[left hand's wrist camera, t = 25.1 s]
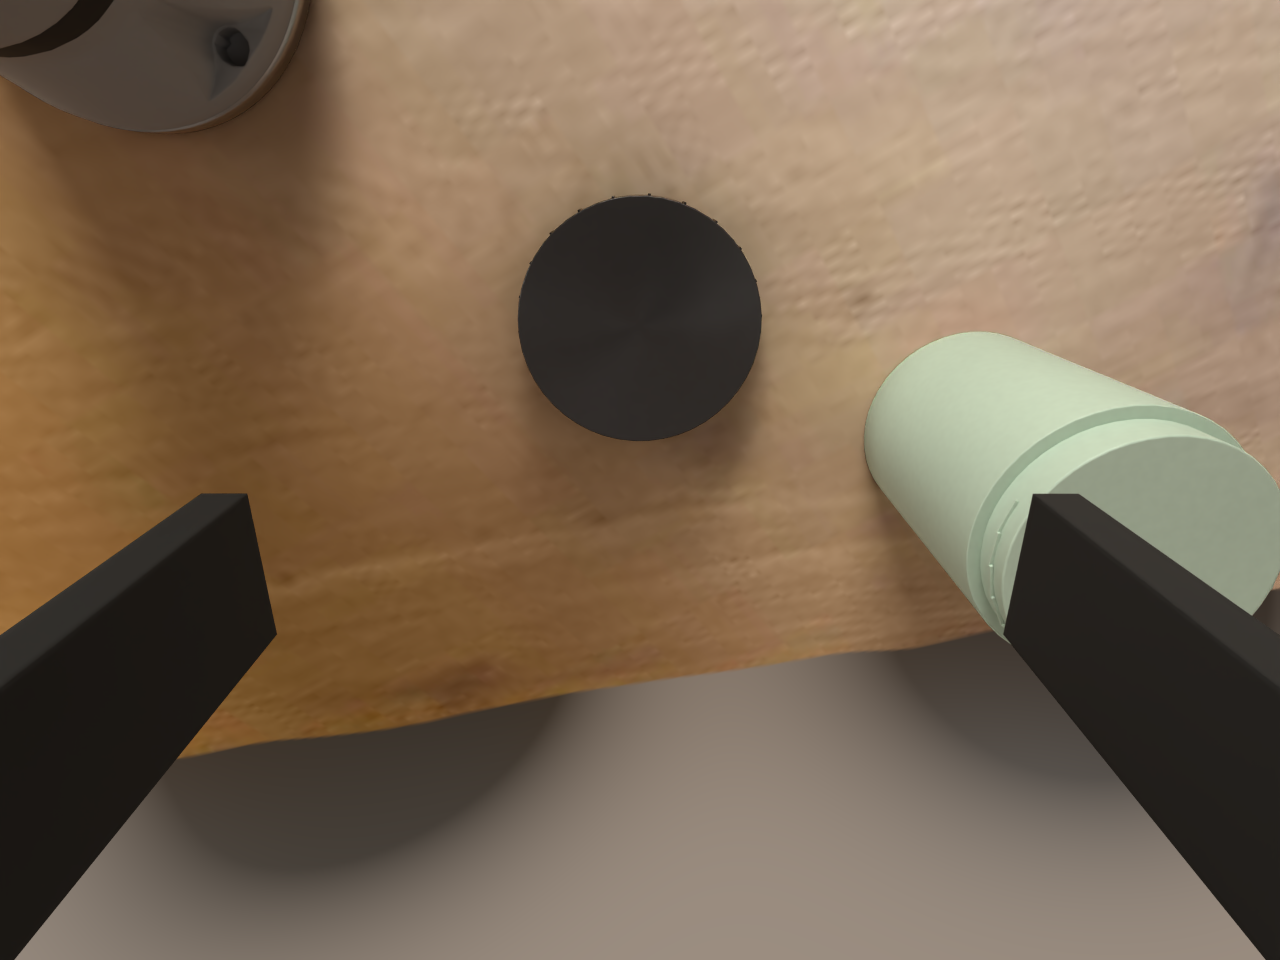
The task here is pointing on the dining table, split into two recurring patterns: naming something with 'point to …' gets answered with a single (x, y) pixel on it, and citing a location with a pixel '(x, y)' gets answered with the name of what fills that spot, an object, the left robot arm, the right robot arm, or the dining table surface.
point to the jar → (1061, 467)
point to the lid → (639, 318)
